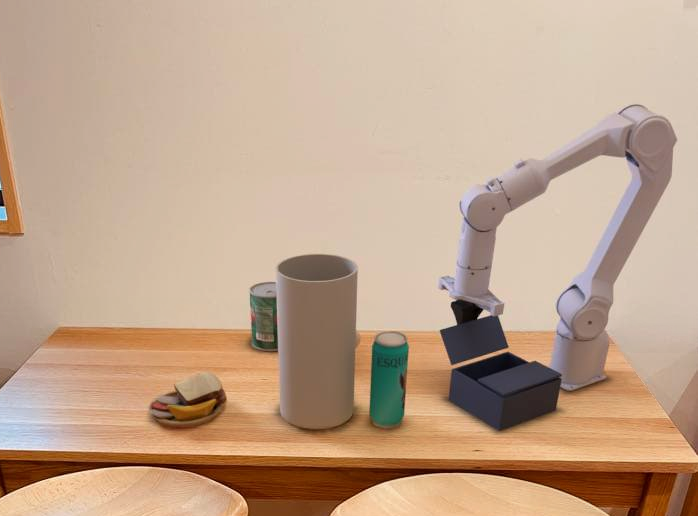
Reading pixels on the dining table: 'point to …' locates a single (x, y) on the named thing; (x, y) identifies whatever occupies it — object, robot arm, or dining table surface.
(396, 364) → the beverage can
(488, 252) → the robot arm
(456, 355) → the flap
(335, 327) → the cylinder vase
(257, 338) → the canned tomato
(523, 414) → the carton
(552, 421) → the dining table surface
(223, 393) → the toy sandwich meal
